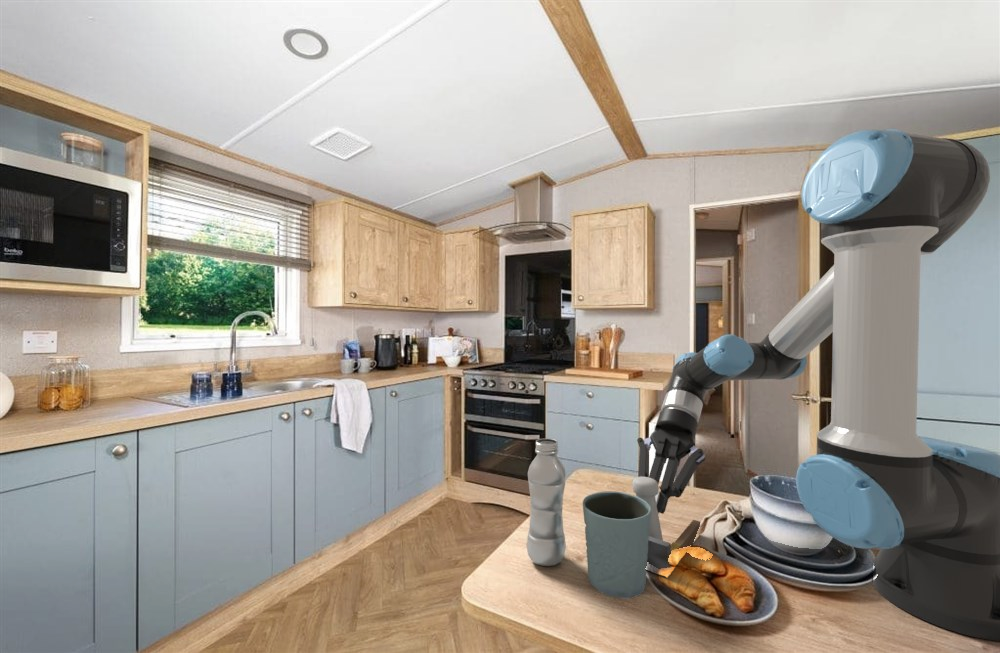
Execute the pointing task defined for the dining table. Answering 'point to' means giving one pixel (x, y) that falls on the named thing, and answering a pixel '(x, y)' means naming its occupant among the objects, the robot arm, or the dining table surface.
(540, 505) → the plastic bottle
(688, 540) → the dark grey angled piece
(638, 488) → the salt shaker
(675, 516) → the dining table surface
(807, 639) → the dining table surface
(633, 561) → the green cup
